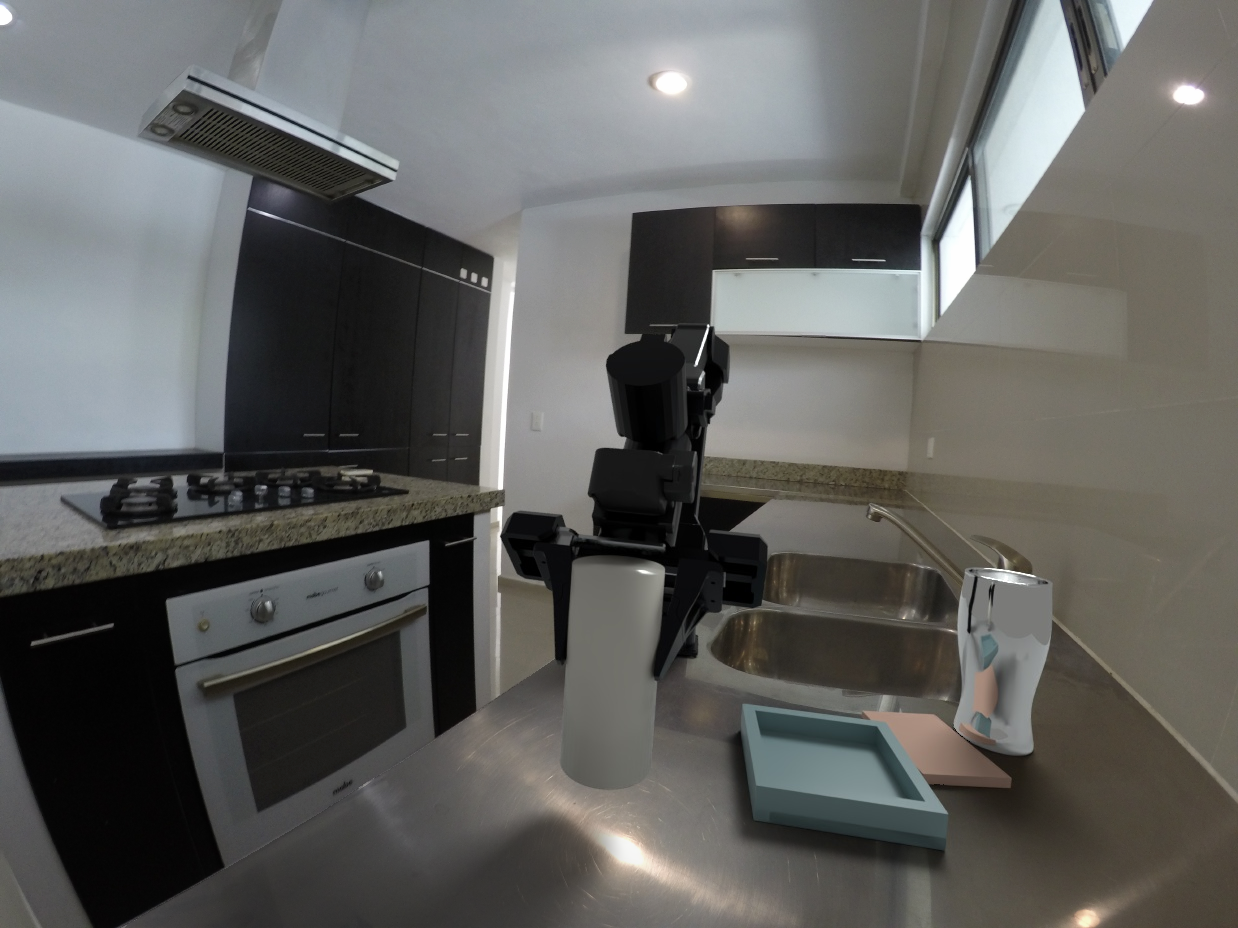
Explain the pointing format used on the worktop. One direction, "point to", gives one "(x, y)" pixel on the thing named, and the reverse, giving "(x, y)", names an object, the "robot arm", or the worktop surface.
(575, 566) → the frosted white cylinder
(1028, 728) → the beer glass
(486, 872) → the worktop surface
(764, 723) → the tray
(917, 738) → the plate
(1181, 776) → the worktop surface
